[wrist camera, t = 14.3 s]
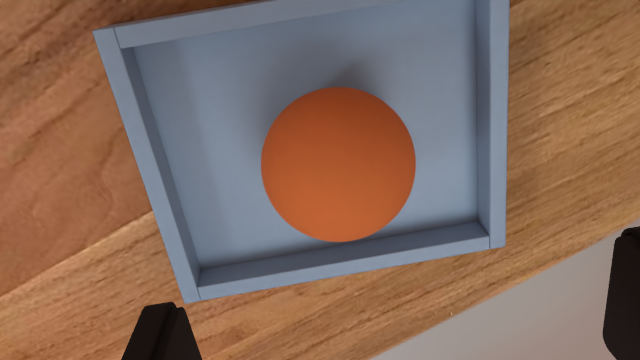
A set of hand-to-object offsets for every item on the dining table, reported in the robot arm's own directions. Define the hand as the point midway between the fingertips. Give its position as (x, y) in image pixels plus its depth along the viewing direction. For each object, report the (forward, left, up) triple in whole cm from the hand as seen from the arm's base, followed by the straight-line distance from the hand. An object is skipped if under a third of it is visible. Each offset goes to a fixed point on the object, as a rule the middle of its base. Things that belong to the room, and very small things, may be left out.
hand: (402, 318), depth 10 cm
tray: (+1, 0, -12) cm, 12 cm away
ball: (0, 0, -9) cm, 9 cm away
